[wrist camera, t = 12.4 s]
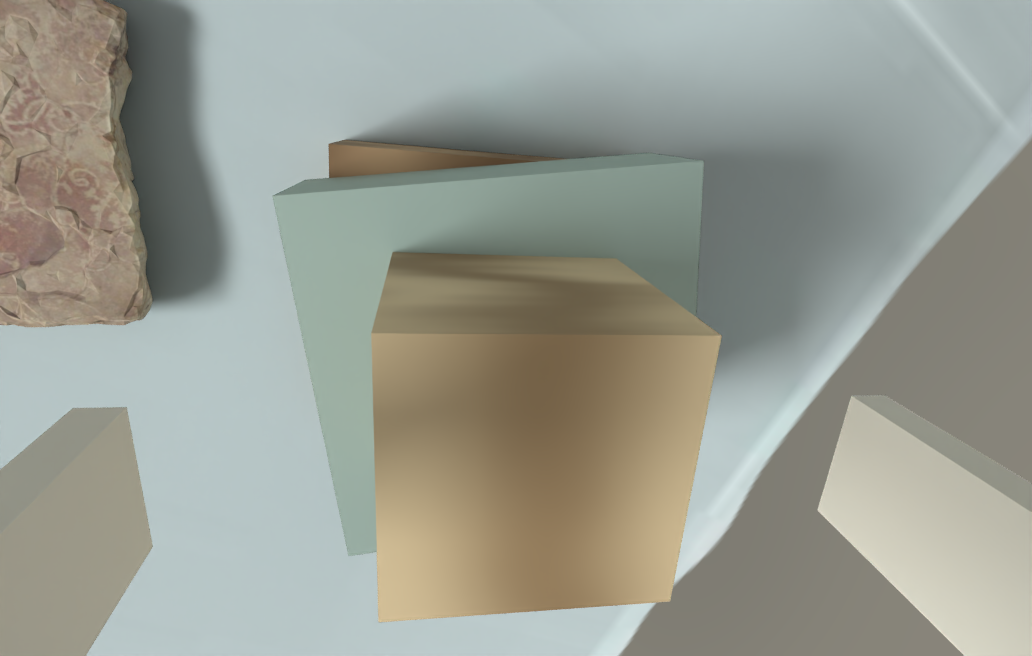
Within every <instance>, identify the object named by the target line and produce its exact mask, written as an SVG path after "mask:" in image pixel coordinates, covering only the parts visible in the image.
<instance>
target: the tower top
mask: <svg viewBox="0 0 1032 656" xmlns="http://www.w3.org/2000/svg"><path fill="white" fill-rule="evenodd" d="M703 170H704V161H701V160H695V159H688V158H681V157H674V156H667V155H660V154H653V153H641V154H628V155H615V156H603V157H590V158H577V159H564V160H552V161H539V162H527V163H514V164H501V165H489V166H476V167H463V168H450V169H438V170H425V171H412V172H399V173H387V174H374V175H361V176H348V177H336V178H323V179H310V180H304V181H302V182H300V183H298V184H296V185H294V186H292V187H290V188H288V189H286V190H284V191H282V192H279V193H277V194H275V195H273V201H274V206H275V211H276V215H277V220H278V225H279V229H280V234H281V239H282V244H283V248H284V253H285V258H286V262H287V267H288V272H289V277H290V281H291V286H292V291H293V296H294V300H295V305H296V310H297V314H298V319H299V324H300V329H301V333H302V338H303V343H304V348H305V352H306V357H307V362H308V366H309V371H310V376H311V381H312V385H313V390H314V395H315V400H316V404H317V409H318V414H319V418H320V423H321V428H322V433H323V437H324V442H325V447H326V452H327V456H328V461H329V466H330V470H331V475H332V480H333V485H334V489H335V494H336V499H337V504H338V508H339V513H340V518H341V522H342V527H343V532H344V537H345V541H346V546H347V551H348V556H353V555H360V554H366V553H373V552H377V539H376V501H375V462H374V423H373V384H372V345H371V332H372V328H373V325H374V321H375V317H376V313H377V309H378V306H379V302H380V298H381V294H382V290H383V287H384V283H385V279H386V275H387V271H388V268H389V264H390V260H391V256H392V252H408V253H443V254H478V255H513V256H547V257H582V258H616V259H618V260H619V261H620V262H622V263H623V264H624V265H626V266H627V267H629V268H630V269H631V270H633V271H634V272H635V273H637V274H638V275H640V276H641V277H642V278H644V279H645V280H646V281H648V282H649V283H650V284H652V285H653V286H655V287H656V288H657V289H659V290H660V291H661V292H663V293H664V294H665V295H667V296H668V297H670V298H671V299H672V300H674V301H675V302H676V303H678V304H679V305H680V306H682V307H683V308H685V309H686V310H687V311H689V312H690V313H691V314H693V315H694V316H696V309H697V289H698V269H699V249H700V229H701V210H702V190H703Z"/></svg>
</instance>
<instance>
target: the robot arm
mask: <svg viewBox="0 0 1032 656" xmlns="http://www.w3.org/2000/svg"><path fill="white" fill-rule="evenodd" d="M818 511H819V512H820V513H821V514H822V515H823V516H824V517H825V518H826V519H827V520H828V521H829V522H830V523H831V524H832V525H833V526H834V527H835V528H836V529H837V530H838V531H839V532H840V533H841V534H842V535H843V536H844V537H845V538H846V539H847V540H848V541H849V542H850V543H851V544H852V545H853V546H854V547H855V548H856V549H857V550H858V551H859V552H860V553H861V554H862V555H863V556H864V557H865V558H866V559H867V560H868V561H869V562H870V563H871V564H872V565H873V566H874V567H875V568H876V569H877V570H878V571H879V572H880V573H881V574H883V576H885V577H886V579H888V580H889V581H890V582H891V583H892V584H893V585H894V586H895V587H896V588H897V589H898V590H899V591H900V592H901V593H902V594H903V595H904V596H905V597H906V598H907V599H908V600H909V601H910V602H911V603H912V604H913V605H914V606H915V607H916V608H917V609H918V610H919V611H920V612H921V613H922V614H923V615H924V616H925V617H926V618H927V619H928V620H929V621H930V622H931V623H932V624H933V625H934V626H935V627H936V628H937V629H938V630H939V631H940V632H941V633H942V634H943V635H944V636H945V637H946V638H947V639H948V640H949V641H950V642H951V643H952V644H953V645H954V646H955V647H956V648H957V649H958V650H959V651H960V652H961V653H962V654H963V655H964V656H1032V483H1030V482H1029V481H1027V480H1025V479H1024V478H1022V477H1020V476H1018V475H1017V474H1015V473H1014V472H1012V471H1010V470H1009V469H1007V468H1005V467H1004V466H1002V465H1000V464H998V463H997V462H995V461H993V460H992V459H990V458H988V457H987V456H985V455H984V454H982V453H980V452H979V451H977V450H975V449H973V448H972V447H970V446H968V445H967V444H965V443H964V442H962V441H960V440H959V439H957V438H955V437H954V436H952V435H950V434H948V433H947V432H945V431H943V430H942V429H940V428H938V427H937V426H935V425H934V424H932V423H930V422H928V421H927V420H925V419H924V418H922V417H920V416H919V415H917V414H915V413H914V412H912V411H910V410H908V409H907V408H905V407H903V406H902V405H900V404H898V403H897V402H895V401H894V400H892V399H890V398H889V397H887V396H885V395H881V396H879V395H878V396H851V400H850V403H849V406H848V410H847V413H846V416H845V420H844V423H843V427H842V430H841V433H840V436H839V440H838V443H837V447H836V450H835V453H834V457H833V460H832V464H831V467H830V470H829V473H828V477H827V480H826V483H825V487H824V491H823V494H822V497H821V500H820V504H819V507H818ZM152 547H153V545H152V540H151V535H150V529H149V524H148V519H147V513H146V508H145V503H144V497H143V492H142V487H141V481H140V476H139V471H138V465H137V460H136V455H135V449H134V444H133V439H132V433H131V428H130V423H129V417H128V412H127V407H113V408H73V409H71V410H70V411H69V412H68V413H67V414H65V415H64V416H63V417H62V418H61V419H60V420H58V421H57V422H56V423H55V424H54V425H53V426H51V427H50V428H49V429H48V430H47V431H45V432H44V433H43V434H42V435H41V436H40V437H38V438H37V439H36V440H35V441H34V442H32V443H31V444H30V445H29V446H28V447H27V448H25V449H24V450H23V451H22V452H21V453H20V454H18V455H17V456H16V457H15V458H14V459H12V460H11V461H10V462H9V463H8V464H7V465H5V466H4V467H3V468H2V469H1V470H0V656H86V654H87V653H88V651H89V649H90V648H91V646H92V645H93V643H94V641H95V640H96V638H97V636H98V635H99V633H100V632H101V630H102V628H103V627H104V625H105V623H106V622H107V620H108V619H109V617H110V615H111V614H112V612H113V610H114V609H115V607H116V606H117V604H118V602H119V601H120V599H121V597H122V596H123V594H124V593H125V591H126V589H127V588H128V586H129V584H130V583H131V581H132V579H133V578H134V576H135V575H136V573H137V571H138V570H139V568H140V566H141V565H142V563H143V562H144V560H145V558H146V557H147V555H148V553H149V552H150V550H151V549H152Z"/></svg>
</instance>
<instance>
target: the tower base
mask: <svg viewBox="0 0 1032 656" xmlns="http://www.w3.org/2000/svg"><path fill="white" fill-rule="evenodd" d="M552 160H564V159H562V158H550V157H538V156H527V155H515V154H503V153H491V152H480V151H468V150H456V149H444V148H433V147H421V146H409V145H397V144H386V143H374V142H362V141H350V140H342V141H338V142H334V143H330V144H329V178H336V177H348V176H361V175H374V174H387V173H399V172H412V171H425V170H438V169H450V168H463V167H476V166H489V165H501V164H514V163H527V162H539V161H552Z"/></svg>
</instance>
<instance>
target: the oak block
mask: <svg viewBox="0 0 1032 656" xmlns="http://www.w3.org/2000/svg"><path fill="white" fill-rule="evenodd" d="M721 337H722V336H721V335H720V334H719V333H717V332H716V331H715V330H713V329H712V328H711V327H709V326H708V325H706V324H705V323H704V322H702V321H701V320H700V319H698V318H697V317H696V316H694V315H693V314H691V313H690V312H689V311H687V310H686V309H685V308H683V307H682V306H680V305H679V304H678V303H676V302H675V301H674V300H672V299H671V298H670V297H668V296H667V295H665V294H664V293H663V292H661V291H660V290H659V289H657V288H656V287H655V286H653V285H652V284H650V283H649V282H648V281H646V280H645V279H644V278H642V277H641V276H640V275H638V274H637V273H635V272H634V271H633V270H631V269H630V268H629V267H627V266H626V265H624V264H623V263H622V262H620V261H619V260H618V259H616V258H582V257H547V256H513V255H478V254H443V253H408V252H392V256H391V260H390V264H389V268H388V271H387V275H386V279H385V283H384V287H383V290H382V294H381V298H380V302H379V306H378V309H377V313H376V317H375V321H374V325H373V328H372V332H371V345H372V384H373V423H374V462H375V501H376V539H377V578H378V617H379V622H389V621H403V620H417V619H431V618H445V617H459V616H473V615H487V614H501V613H515V612H529V611H543V610H557V609H571V608H585V607H599V606H613V605H627V604H641V603H655V602H669V601H670V598H671V593H672V588H673V583H674V578H675V573H676V568H677V562H678V557H679V552H680V547H681V542H682V537H683V532H684V527H685V521H686V516H687V511H688V506H689V501H690V496H691V491H692V486H693V480H694V475H695V470H696V465H697V460H698V455H699V450H700V445H701V439H702V434H703V429H704V424H705V419H706V414H707V409H708V403H709V398H710V393H711V388H712V383H713V378H714V373H715V368H716V362H717V357H718V352H719V347H720V342H721Z"/></svg>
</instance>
